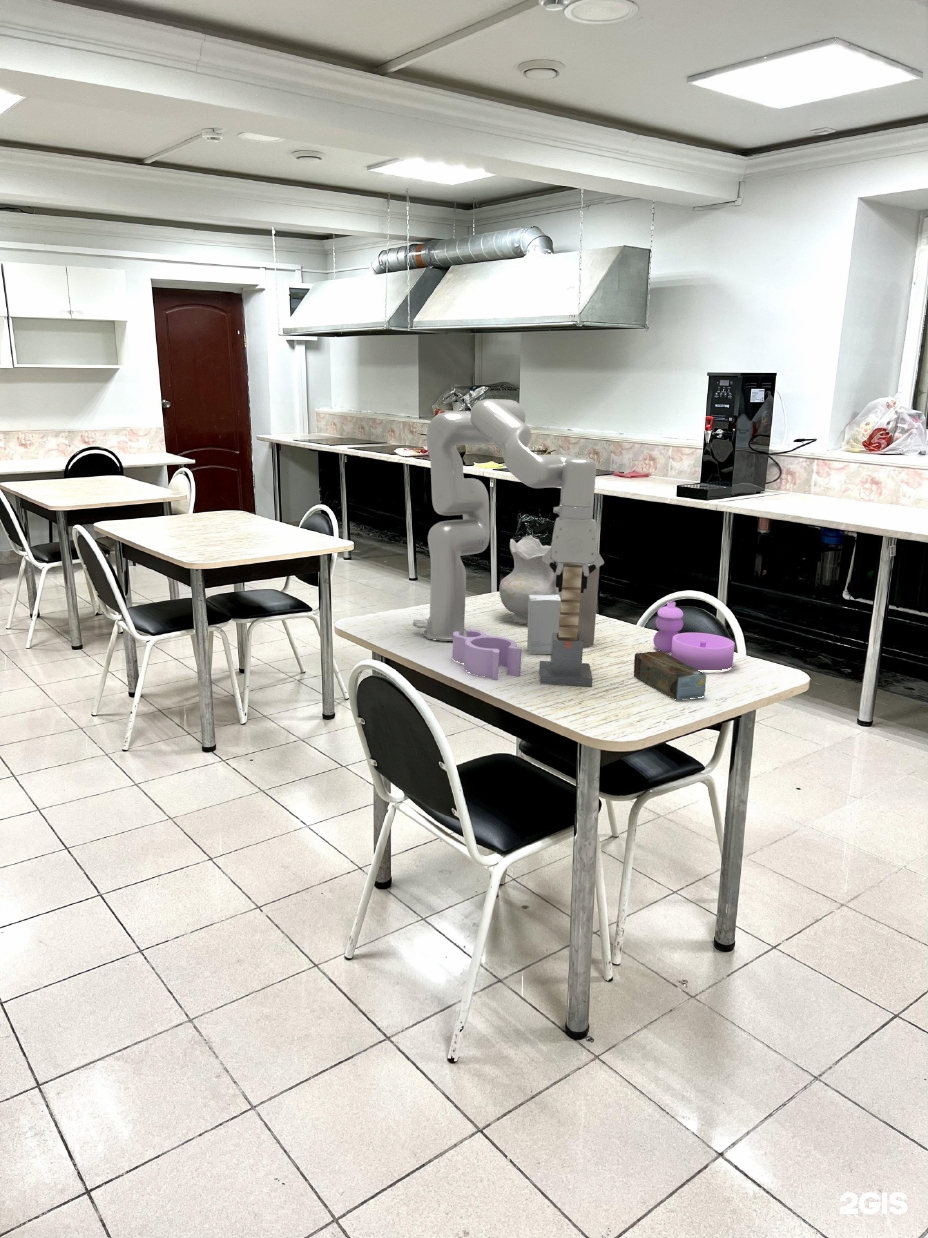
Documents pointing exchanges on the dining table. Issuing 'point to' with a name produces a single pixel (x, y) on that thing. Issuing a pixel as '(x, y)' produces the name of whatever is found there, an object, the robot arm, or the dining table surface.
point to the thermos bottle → (588, 608)
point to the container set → (691, 642)
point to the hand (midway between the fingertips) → (570, 590)
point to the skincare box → (542, 622)
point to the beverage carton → (669, 675)
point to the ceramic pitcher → (527, 577)
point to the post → (570, 602)
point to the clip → (486, 654)
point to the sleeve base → (566, 664)
